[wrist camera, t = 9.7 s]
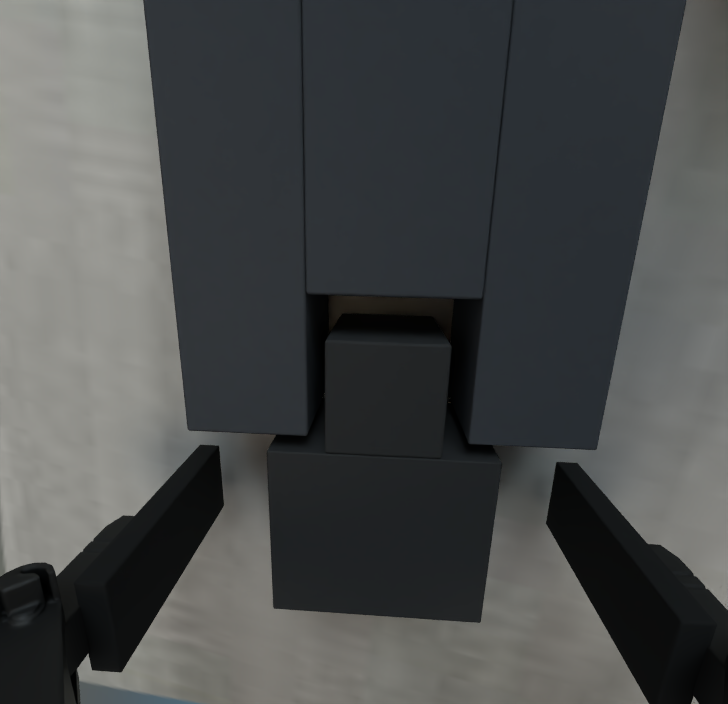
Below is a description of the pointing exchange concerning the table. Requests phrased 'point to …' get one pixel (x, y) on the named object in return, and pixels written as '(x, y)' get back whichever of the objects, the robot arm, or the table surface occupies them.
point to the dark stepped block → (383, 484)
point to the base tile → (407, 194)
